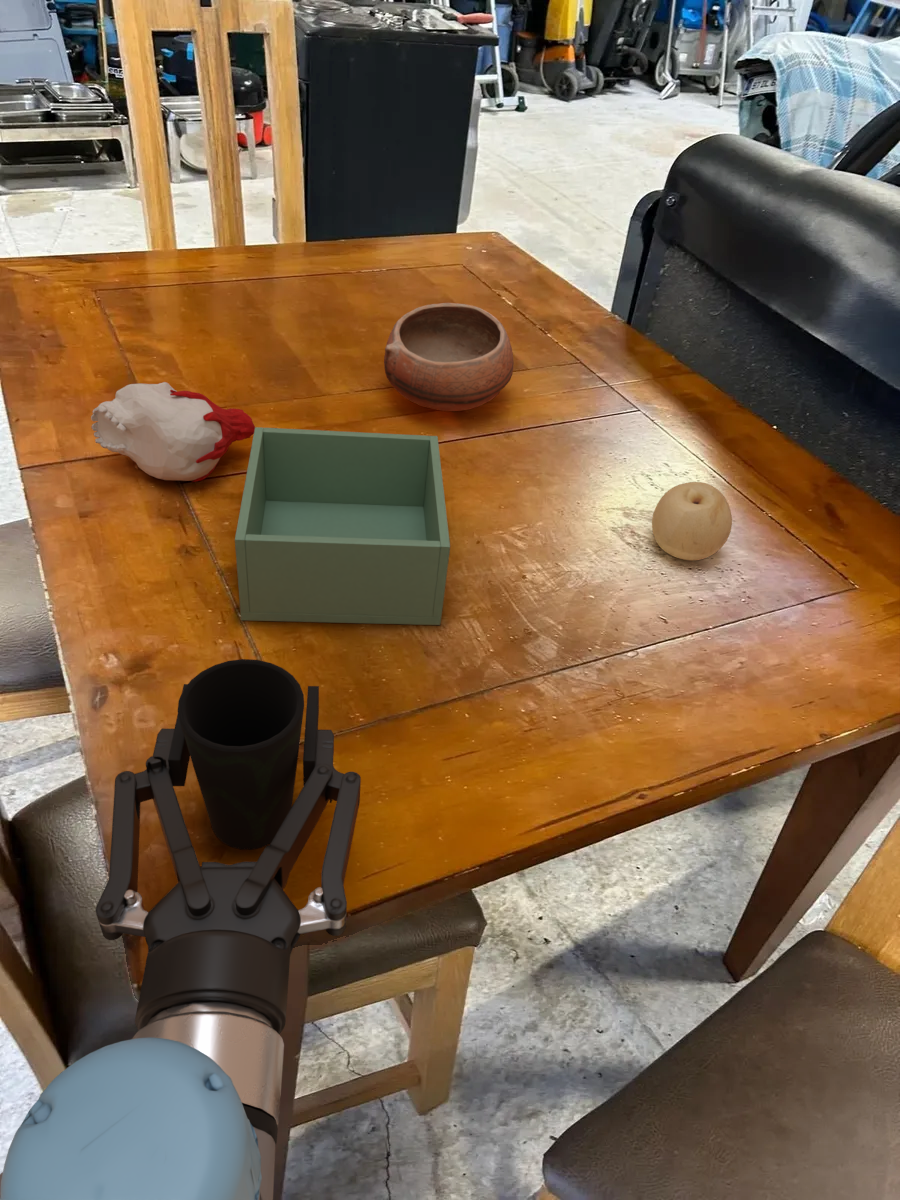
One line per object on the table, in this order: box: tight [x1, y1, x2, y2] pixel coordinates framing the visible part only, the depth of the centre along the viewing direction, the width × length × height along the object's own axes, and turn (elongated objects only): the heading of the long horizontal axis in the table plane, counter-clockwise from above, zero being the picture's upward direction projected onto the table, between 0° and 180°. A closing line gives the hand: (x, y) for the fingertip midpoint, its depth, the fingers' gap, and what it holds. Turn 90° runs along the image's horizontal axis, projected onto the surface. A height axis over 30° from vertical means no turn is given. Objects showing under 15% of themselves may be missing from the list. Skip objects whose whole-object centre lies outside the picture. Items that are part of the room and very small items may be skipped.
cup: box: [177, 658, 305, 850], centre depth 59 cm, size 8×8×12 cm
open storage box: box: [234, 426, 451, 626], centre depth 82 cm, size 18×18×9 cm
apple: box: [651, 481, 733, 561], centre depth 90 cm, size 8×8×8 cm
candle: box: [90, 381, 256, 483], centre depth 92 cm, size 9×11×15 cm
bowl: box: [383, 302, 515, 412], centre depth 108 cm, size 16×16×10 cm
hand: (252, 698), depth 62 cm, fingers closed on cup, 8 cm apart
